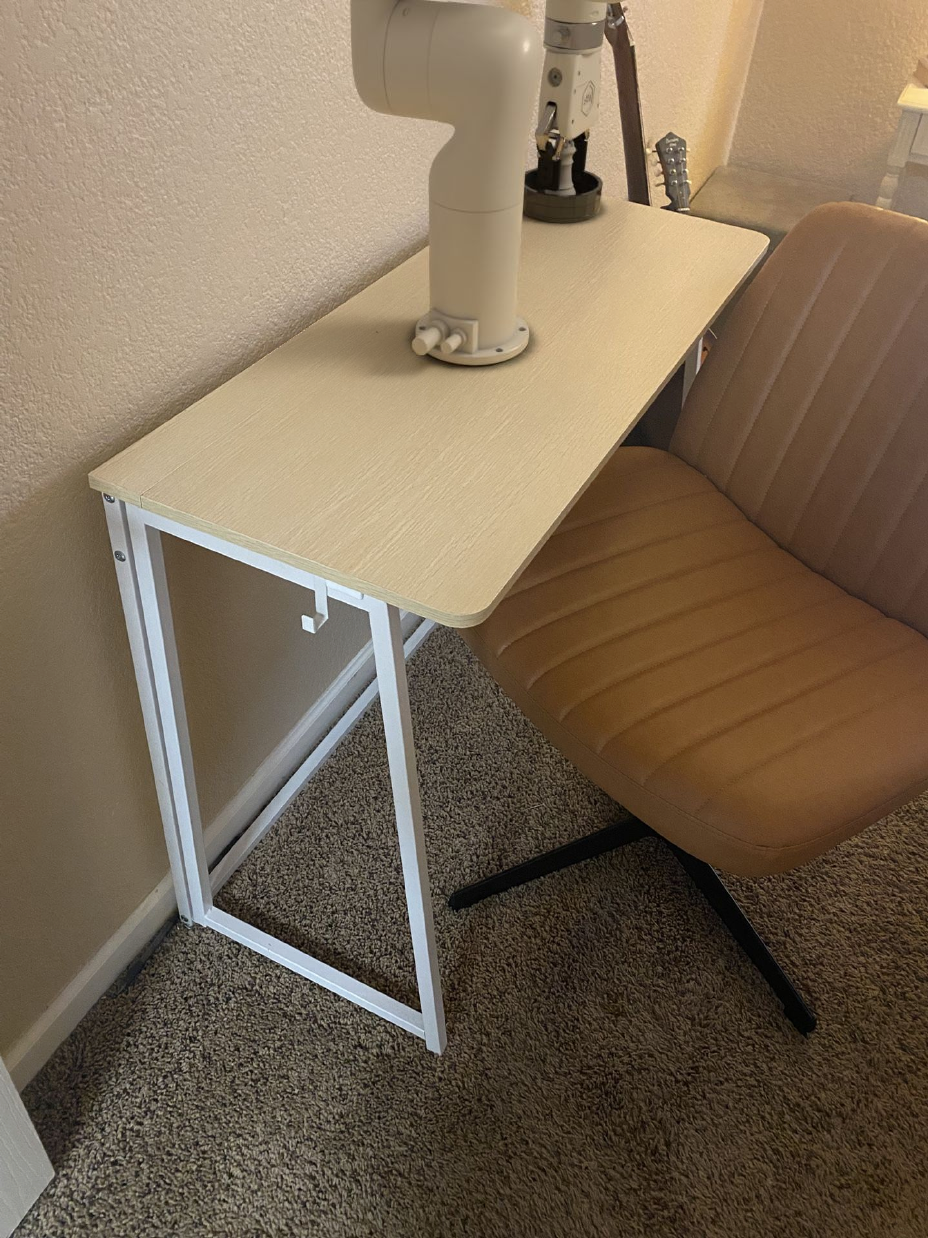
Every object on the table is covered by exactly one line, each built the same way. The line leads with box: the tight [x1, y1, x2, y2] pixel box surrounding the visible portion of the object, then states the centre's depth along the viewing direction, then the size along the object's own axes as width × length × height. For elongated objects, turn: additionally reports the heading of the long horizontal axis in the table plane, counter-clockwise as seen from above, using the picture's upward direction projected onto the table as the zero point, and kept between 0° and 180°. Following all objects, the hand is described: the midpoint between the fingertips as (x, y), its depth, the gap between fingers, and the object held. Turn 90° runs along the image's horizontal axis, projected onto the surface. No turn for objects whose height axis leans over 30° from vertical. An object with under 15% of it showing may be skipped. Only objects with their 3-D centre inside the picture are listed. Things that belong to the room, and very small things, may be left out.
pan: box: [523, 167, 604, 224], centre depth 131 cm, size 12×12×4 cm
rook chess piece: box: [545, 139, 576, 195], centre depth 129 cm, size 4×4×8 cm
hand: (560, 178), depth 130 cm, fingers open, 8 cm apart
